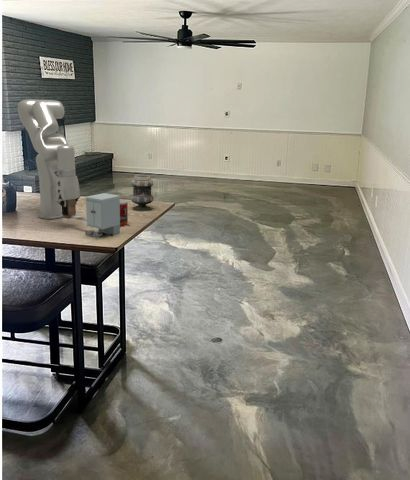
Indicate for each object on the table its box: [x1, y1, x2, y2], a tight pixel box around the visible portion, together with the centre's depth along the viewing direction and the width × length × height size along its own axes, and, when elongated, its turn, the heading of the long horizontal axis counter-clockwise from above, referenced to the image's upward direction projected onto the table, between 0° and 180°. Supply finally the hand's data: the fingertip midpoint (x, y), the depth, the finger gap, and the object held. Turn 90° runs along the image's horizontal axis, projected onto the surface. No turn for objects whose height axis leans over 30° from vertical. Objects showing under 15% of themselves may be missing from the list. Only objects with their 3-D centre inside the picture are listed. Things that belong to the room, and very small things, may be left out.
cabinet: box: [85, 192, 121, 236], centre depth 211 cm, size 9×12×17 cm
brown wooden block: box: [62, 199, 87, 222], centre depth 217 cm, size 16×4×10 cm, turn 58°
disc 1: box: [84, 229, 96, 237], centre depth 212 cm, size 4×4×2 cm
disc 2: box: [92, 231, 103, 239], centre depth 209 cm, size 4×4×2 cm
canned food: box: [120, 199, 129, 227], centre depth 229 cm, size 8×8×11 cm
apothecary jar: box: [130, 174, 154, 212], centre depth 260 cm, size 12×12×18 cm
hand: (68, 213), depth 221 cm, fingers closed on brown wooden block, 4 cm apart
